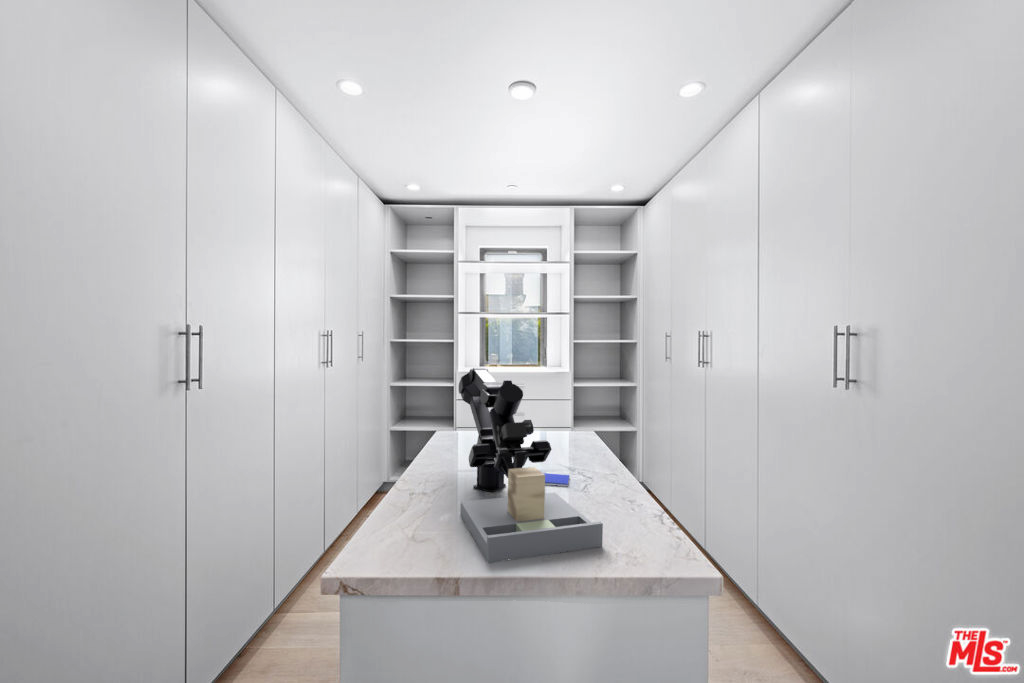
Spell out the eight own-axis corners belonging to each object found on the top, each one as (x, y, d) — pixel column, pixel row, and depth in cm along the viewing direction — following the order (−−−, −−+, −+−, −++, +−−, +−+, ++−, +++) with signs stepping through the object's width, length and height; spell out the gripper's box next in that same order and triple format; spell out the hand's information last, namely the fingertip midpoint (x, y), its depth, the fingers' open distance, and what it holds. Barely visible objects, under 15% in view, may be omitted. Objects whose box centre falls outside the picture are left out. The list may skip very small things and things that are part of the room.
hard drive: (522, 479, 128) (567, 483, 126) (526, 471, 136) (569, 474, 134) (522, 485, 128) (567, 488, 126) (526, 476, 136) (569, 479, 134)
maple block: (507, 510, 100) (508, 468, 100) (533, 507, 102) (534, 466, 102) (516, 521, 94) (517, 477, 94) (544, 518, 96) (545, 474, 96)
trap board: (460, 514, 105) (460, 495, 105) (554, 504, 112) (554, 486, 112) (488, 562, 83) (488, 537, 83) (602, 546, 90) (602, 523, 90)
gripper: (472, 409, 104) (484, 471, 94) (549, 406, 110) (568, 465, 100) (464, 436, 112) (474, 497, 102) (536, 433, 118) (553, 490, 107)
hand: (518, 487), depth 102 cm, fingers closed
